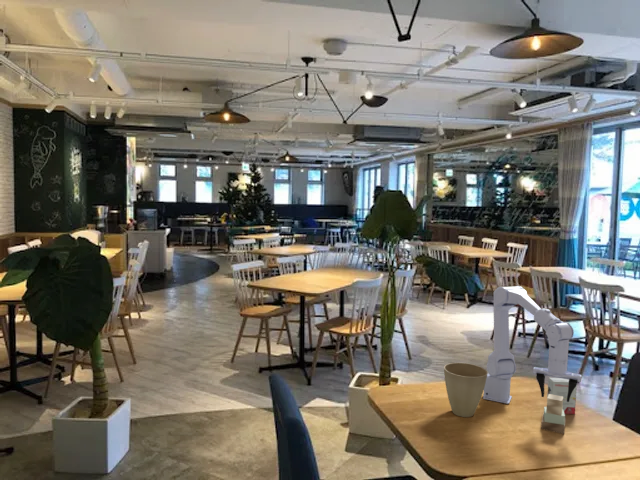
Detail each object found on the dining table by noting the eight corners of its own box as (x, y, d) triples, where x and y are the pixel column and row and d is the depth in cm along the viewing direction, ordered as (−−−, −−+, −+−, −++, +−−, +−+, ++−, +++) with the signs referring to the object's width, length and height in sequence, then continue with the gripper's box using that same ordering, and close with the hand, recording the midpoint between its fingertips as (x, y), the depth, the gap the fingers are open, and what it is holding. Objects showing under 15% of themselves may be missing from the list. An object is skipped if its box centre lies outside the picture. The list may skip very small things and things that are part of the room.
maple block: (546, 412, 170) (547, 398, 169) (547, 408, 174) (548, 393, 173) (561, 415, 168) (562, 401, 167) (562, 411, 171) (563, 396, 171)
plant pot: (438, 417, 177) (440, 372, 176) (445, 401, 191) (447, 360, 189) (483, 425, 171) (486, 379, 170) (486, 409, 185) (489, 366, 184)
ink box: (570, 409, 187) (572, 378, 186) (575, 414, 182) (577, 382, 181) (545, 407, 188) (548, 376, 187) (550, 413, 183) (552, 381, 182)
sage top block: (544, 421, 170) (545, 413, 169) (543, 414, 175) (544, 406, 175) (564, 425, 168) (565, 416, 167) (562, 417, 173) (563, 409, 173)
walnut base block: (540, 430, 170) (541, 421, 170) (542, 422, 176) (543, 413, 176) (564, 435, 167) (564, 426, 167) (564, 426, 173) (565, 418, 173)
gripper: (533, 358, 169) (530, 397, 170) (582, 366, 162) (579, 407, 163) (535, 352, 175) (532, 391, 176) (582, 360, 168) (579, 399, 169)
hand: (555, 398), depth 170 cm, fingers open, 7 cm apart
